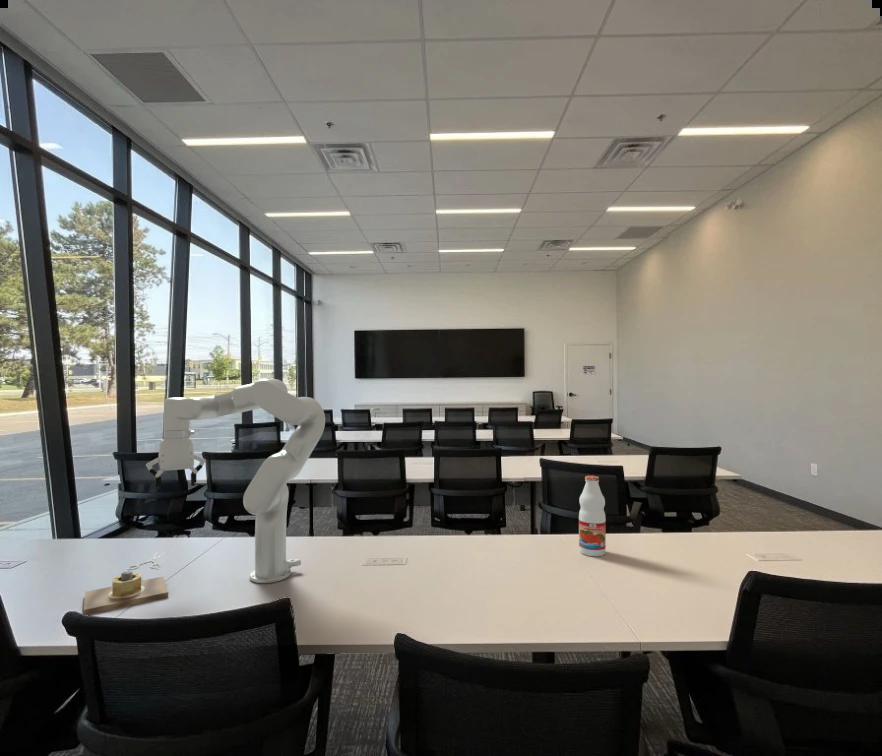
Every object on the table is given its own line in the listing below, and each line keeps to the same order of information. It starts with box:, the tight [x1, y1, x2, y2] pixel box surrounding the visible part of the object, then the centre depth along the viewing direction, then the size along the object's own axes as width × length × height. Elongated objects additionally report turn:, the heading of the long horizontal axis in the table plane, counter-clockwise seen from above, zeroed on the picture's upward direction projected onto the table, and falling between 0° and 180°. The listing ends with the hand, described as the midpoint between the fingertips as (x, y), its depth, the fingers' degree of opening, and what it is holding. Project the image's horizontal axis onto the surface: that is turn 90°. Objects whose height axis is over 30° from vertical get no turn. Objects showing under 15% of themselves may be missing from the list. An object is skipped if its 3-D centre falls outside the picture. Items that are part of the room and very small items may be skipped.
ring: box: [111, 572, 142, 597], centre depth 143 cm, size 7×7×4 cm
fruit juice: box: [578, 475, 607, 557], centre depth 181 cm, size 9×9×28 cm
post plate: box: [83, 570, 169, 616], centre depth 143 cm, size 20×14×7 cm
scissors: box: [126, 550, 169, 571], centre depth 173 cm, size 11×1×20 cm
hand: (176, 487), depth 161 cm, fingers open, 9 cm apart
